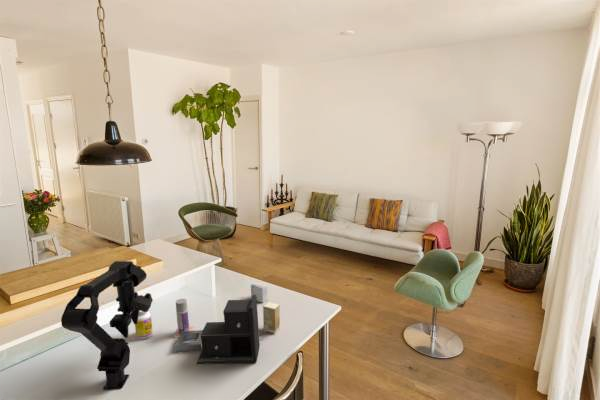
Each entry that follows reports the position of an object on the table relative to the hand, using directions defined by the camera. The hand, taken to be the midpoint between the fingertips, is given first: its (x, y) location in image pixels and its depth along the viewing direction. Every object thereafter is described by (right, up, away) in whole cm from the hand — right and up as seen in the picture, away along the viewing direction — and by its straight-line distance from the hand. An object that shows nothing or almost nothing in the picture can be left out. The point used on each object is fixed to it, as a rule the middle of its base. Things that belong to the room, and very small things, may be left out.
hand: (131, 330), depth 131 cm
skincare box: (+53, -8, +21) cm, 57 cm away
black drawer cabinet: (+37, -12, +5) cm, 39 cm away
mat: (+13, -9, +21) cm, 26 cm away
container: (+13, -9, +20) cm, 26 cm away
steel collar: (+19, -10, +12) cm, 25 cm away
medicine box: (+44, -3, +49) cm, 66 cm away
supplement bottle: (-3, -10, +19) cm, 22 cm away
